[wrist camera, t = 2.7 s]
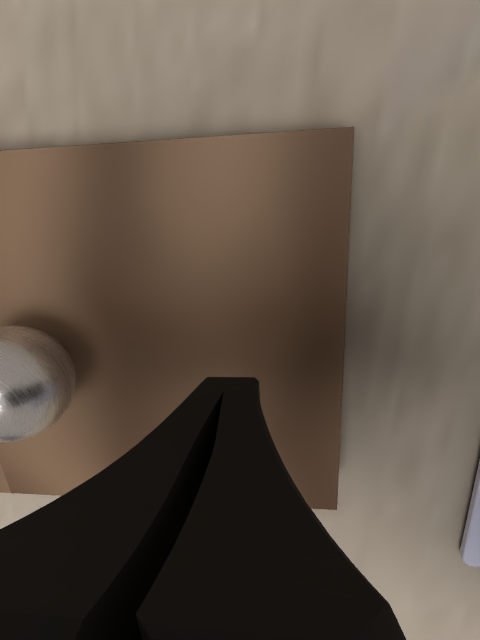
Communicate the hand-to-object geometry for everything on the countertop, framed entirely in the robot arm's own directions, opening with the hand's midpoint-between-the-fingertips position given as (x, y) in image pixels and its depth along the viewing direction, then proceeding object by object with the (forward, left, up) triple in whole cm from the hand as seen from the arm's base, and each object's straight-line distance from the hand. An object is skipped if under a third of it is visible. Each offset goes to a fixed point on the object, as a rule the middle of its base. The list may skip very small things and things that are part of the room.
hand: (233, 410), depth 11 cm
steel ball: (+7, 0, -1) cm, 7 cm away
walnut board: (+6, 0, -5) cm, 8 cm away
